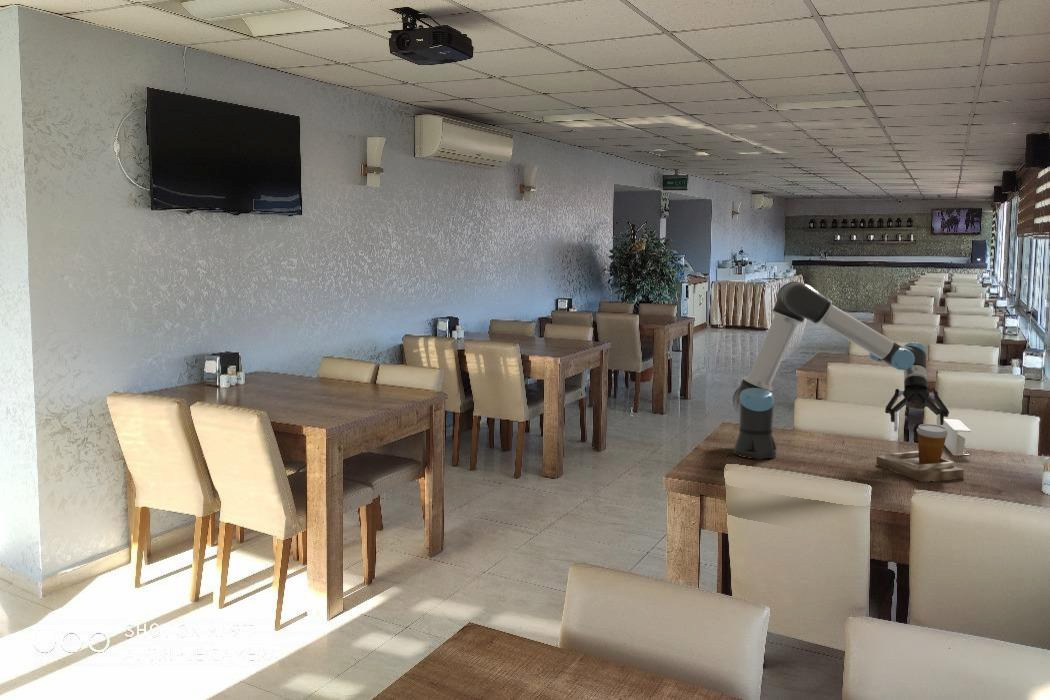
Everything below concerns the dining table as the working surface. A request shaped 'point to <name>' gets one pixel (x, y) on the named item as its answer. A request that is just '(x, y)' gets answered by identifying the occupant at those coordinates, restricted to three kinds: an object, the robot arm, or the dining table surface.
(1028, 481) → the dining table surface
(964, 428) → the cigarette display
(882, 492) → the dining table surface
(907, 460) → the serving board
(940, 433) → the disposable coffee cup
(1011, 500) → the dining table surface
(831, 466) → the dining table surface
